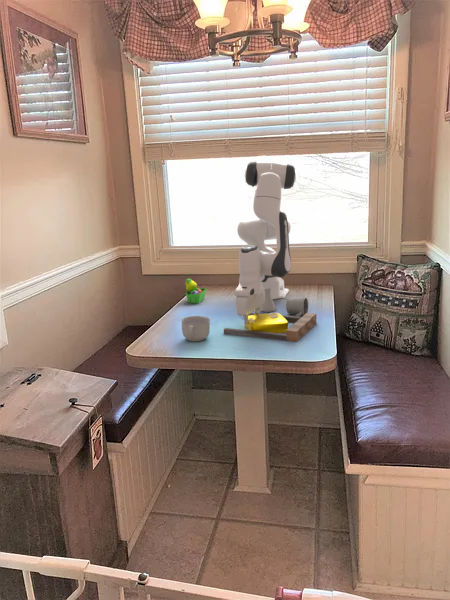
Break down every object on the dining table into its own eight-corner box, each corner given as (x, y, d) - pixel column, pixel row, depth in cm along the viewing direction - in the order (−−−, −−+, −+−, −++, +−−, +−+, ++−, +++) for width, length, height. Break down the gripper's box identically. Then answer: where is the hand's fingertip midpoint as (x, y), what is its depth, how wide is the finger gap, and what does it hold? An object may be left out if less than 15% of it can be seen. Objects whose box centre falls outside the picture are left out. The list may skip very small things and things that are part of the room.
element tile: (243, 325, 211) (243, 314, 209) (279, 322, 213) (278, 311, 212) (252, 337, 196) (251, 325, 195) (289, 332, 199) (289, 321, 197)
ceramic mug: (290, 311, 226) (290, 294, 224) (308, 312, 222) (308, 295, 220) (283, 318, 216) (282, 301, 214) (301, 320, 213) (301, 302, 211)
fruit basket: (200, 304, 246) (198, 281, 243) (183, 303, 248) (181, 281, 245) (207, 298, 257) (206, 276, 254) (190, 297, 259) (189, 276, 256)
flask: (275, 312, 225) (274, 290, 223) (259, 312, 227) (258, 290, 224) (277, 308, 232) (276, 286, 230) (261, 308, 234) (260, 286, 231)
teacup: (190, 333, 203) (188, 314, 201) (215, 335, 199) (214, 315, 197) (174, 345, 191) (172, 324, 189) (200, 347, 187) (199, 326, 185)
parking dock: (248, 316, 221) (248, 308, 220) (316, 323, 207) (316, 313, 206) (223, 333, 201) (223, 324, 200) (296, 342, 187) (296, 331, 186)
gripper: (254, 280, 214) (255, 312, 217) (232, 292, 196) (234, 327, 200) (268, 281, 211) (269, 314, 214) (247, 293, 193) (248, 328, 197)
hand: (252, 320), depth 207 cm, fingers open, 8 cm apart
